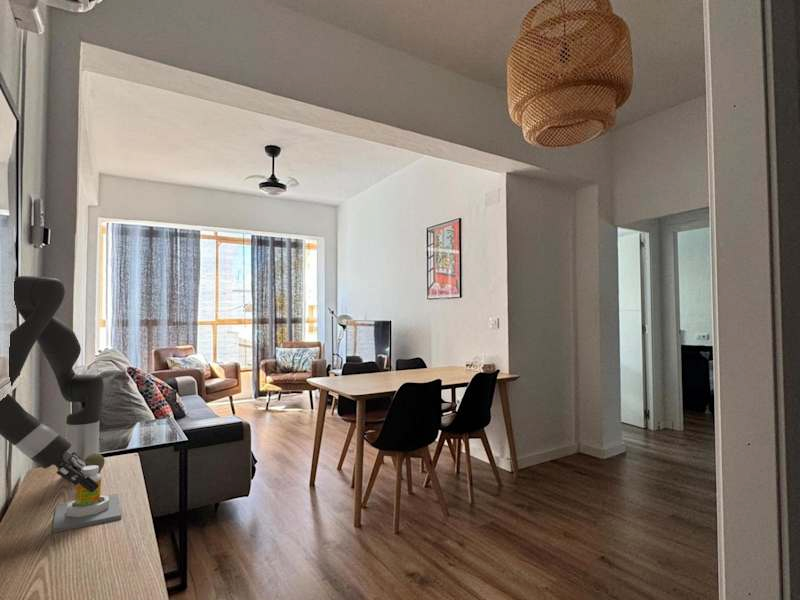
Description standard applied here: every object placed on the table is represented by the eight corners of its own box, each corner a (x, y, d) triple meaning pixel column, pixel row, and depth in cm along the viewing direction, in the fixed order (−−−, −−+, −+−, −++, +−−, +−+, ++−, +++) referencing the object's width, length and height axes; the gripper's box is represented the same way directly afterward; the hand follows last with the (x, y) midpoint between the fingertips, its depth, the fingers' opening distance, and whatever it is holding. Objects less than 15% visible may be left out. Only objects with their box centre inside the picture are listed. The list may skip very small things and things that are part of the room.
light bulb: (77, 487, 134) (79, 454, 135) (97, 482, 139) (98, 450, 140) (87, 491, 132) (89, 457, 133) (107, 485, 137) (108, 452, 137)
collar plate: (56, 508, 119) (57, 496, 119) (117, 497, 127) (117, 486, 128) (52, 533, 105) (53, 520, 105) (121, 518, 113) (121, 506, 113)
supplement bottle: (78, 510, 112) (81, 472, 113) (71, 505, 116) (74, 467, 116) (102, 504, 117) (105, 467, 117) (95, 499, 120) (97, 463, 121)
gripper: (52, 440, 108) (107, 482, 113) (62, 428, 120) (111, 466, 125) (22, 465, 105) (80, 507, 110) (36, 450, 117) (87, 488, 122)
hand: (96, 485), depth 117 cm, fingers closed on supplement bottle, 5 cm apart
